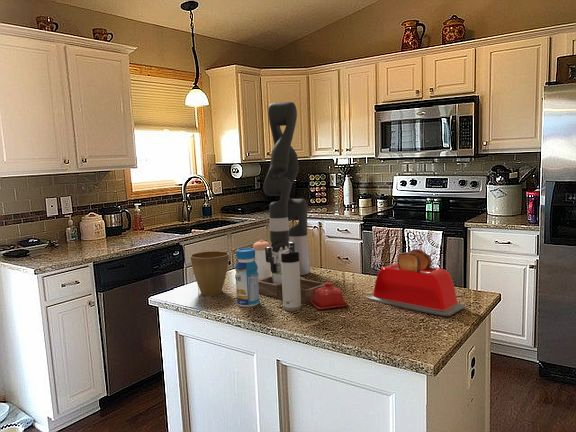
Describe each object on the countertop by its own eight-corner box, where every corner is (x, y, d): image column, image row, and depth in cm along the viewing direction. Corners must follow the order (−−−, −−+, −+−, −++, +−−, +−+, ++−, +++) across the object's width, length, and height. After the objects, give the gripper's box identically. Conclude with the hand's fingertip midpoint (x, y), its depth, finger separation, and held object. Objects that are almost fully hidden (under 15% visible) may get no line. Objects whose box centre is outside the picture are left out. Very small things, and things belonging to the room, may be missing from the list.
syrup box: (291, 284, 191) (289, 248, 189) (285, 288, 185) (283, 250, 184) (278, 283, 193) (276, 247, 191) (271, 287, 187) (270, 250, 186)
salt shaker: (262, 282, 205) (259, 237, 203) (275, 284, 201) (273, 239, 199) (251, 286, 199) (248, 240, 197) (264, 288, 195) (262, 241, 193)
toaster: (364, 300, 174) (363, 249, 172) (384, 292, 183) (383, 243, 181) (448, 317, 151) (448, 259, 149) (466, 307, 160) (466, 252, 158)
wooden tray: (283, 284, 199) (282, 273, 199) (331, 295, 181) (331, 282, 181) (255, 292, 189) (255, 280, 188) (304, 304, 171) (303, 291, 170)
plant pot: (211, 301, 180) (208, 259, 178) (184, 296, 189) (182, 255, 187) (238, 291, 191) (236, 252, 190) (212, 287, 200) (210, 249, 199)
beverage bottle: (260, 306, 171) (257, 251, 168) (236, 308, 170) (233, 252, 168) (259, 299, 179) (257, 246, 177) (237, 301, 178) (234, 248, 176)
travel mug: (288, 312, 163) (286, 254, 161) (280, 307, 169) (277, 251, 166) (305, 309, 166) (302, 251, 163) (295, 304, 171) (293, 249, 169)
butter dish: (308, 303, 173) (307, 280, 172) (338, 299, 176) (337, 276, 175) (318, 312, 162) (317, 287, 161) (350, 308, 165) (349, 284, 164)
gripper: (272, 232, 179) (274, 275, 181) (299, 227, 189) (300, 268, 191) (258, 230, 184) (261, 273, 186) (285, 226, 194) (287, 266, 196)
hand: (281, 270), depth 188 cm, fingers closed on syrup box, 7 cm apart
